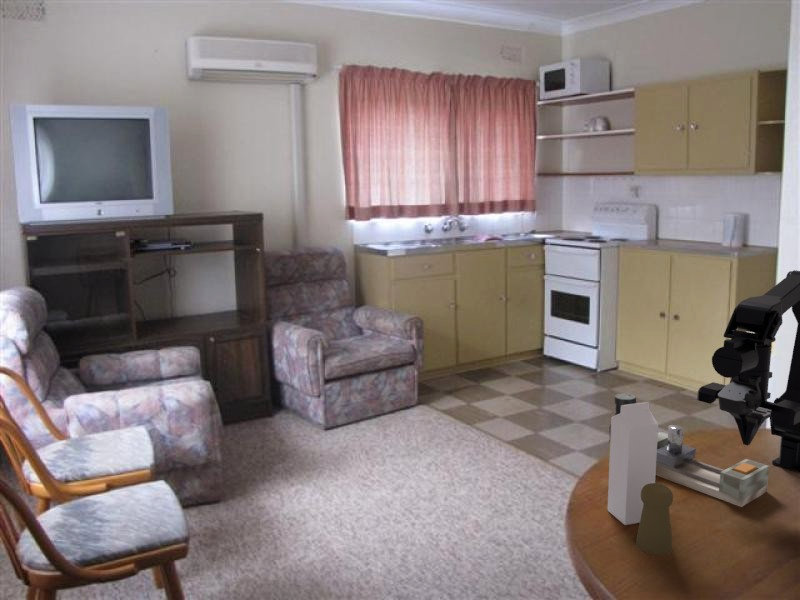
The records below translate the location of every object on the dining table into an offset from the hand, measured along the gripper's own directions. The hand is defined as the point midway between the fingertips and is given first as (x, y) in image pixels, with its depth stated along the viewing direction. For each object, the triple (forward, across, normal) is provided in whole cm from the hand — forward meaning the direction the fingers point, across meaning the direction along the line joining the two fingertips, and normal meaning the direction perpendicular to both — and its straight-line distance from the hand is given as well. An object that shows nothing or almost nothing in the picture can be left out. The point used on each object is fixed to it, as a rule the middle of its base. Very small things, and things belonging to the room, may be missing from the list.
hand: (746, 444), depth 141 cm
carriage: (+8, -15, 0) cm, 17 cm away
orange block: (+8, 0, 0) cm, 8 cm away
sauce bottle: (+11, -16, -16) cm, 25 cm away
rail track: (+11, -10, 0) cm, 14 cm away
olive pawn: (+11, 0, -30) cm, 32 cm away
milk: (+11, -9, -24) cm, 28 cm away
